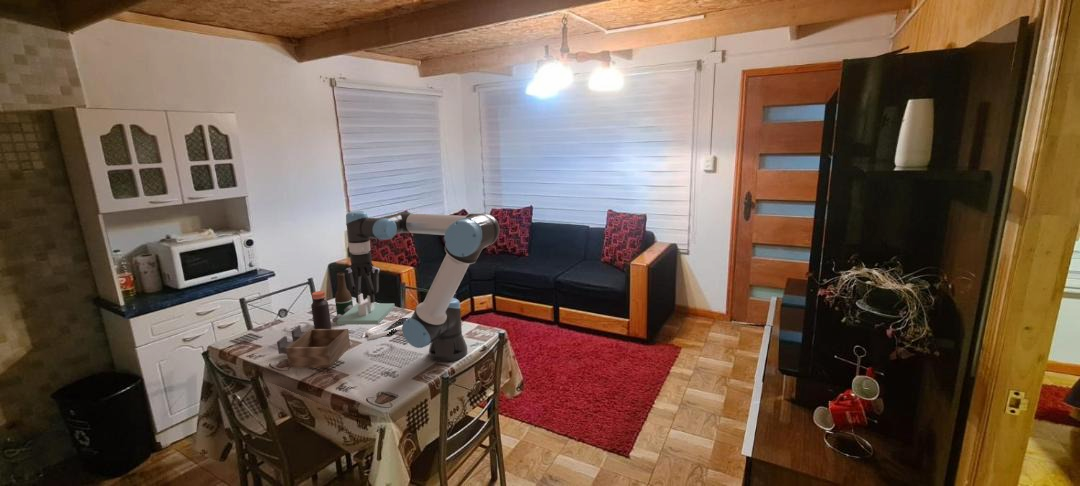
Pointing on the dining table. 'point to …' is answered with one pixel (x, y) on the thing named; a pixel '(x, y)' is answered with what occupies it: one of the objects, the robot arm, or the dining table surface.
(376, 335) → the door handle
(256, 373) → the dining table surface
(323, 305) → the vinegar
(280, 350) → the cabinet
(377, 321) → the door
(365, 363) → the dining table surface
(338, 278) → the beer bottle
